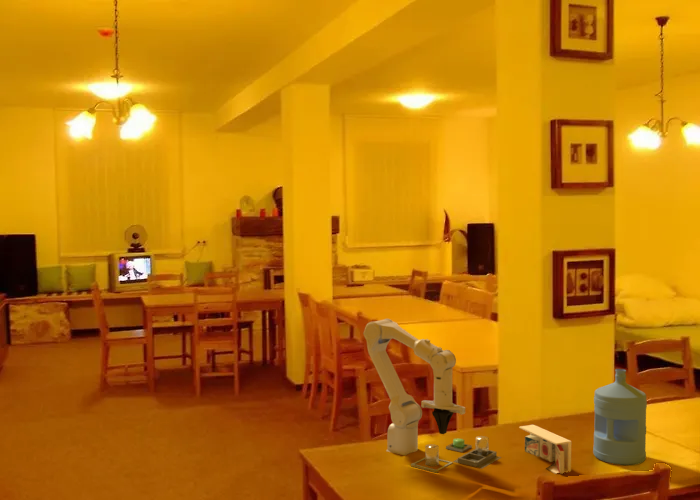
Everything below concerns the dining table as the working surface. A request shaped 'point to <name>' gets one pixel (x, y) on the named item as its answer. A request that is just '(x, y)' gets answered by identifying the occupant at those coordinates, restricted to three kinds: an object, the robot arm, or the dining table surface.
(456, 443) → the button
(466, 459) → the grey pocketed tray
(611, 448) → the water jug
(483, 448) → the seated billet
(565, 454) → the cigarette display
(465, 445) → the button housing
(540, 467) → the dining table surface
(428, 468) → the tote tray
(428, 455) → the cylinder
